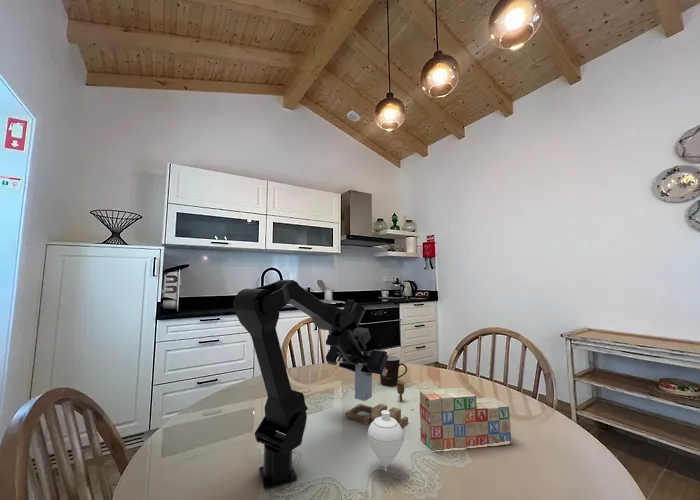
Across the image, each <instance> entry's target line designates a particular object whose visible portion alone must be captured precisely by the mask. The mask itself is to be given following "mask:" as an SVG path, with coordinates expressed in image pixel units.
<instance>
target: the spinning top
mask: <svg viewBox="0 0 700 500" xmlns="http://www.w3.org/2000/svg"><path fill="white" fill-rule="evenodd" d="M404 435H405V434H404V430H403V428H401V426H400V425H399V423H398V422H397V421H396V420H395V419H394V418H391V417H390V412H389V410H388V409H387V410H383V411H381V417H377V418H375V419H374V421H373V422H372V423H370V424H369V427H368V430H367V440H368V443H369V445H370V448H371V450H372V452H373V453H374V455H375V456H376V458H377V459H378V461H379V462H380V464H381V465H382V466H383V467H384V471H386V472H387V468H388V467H389V466H390V465H391V463H392V462H393V461H394V460H395V459H396V457H397V456H398V454H399V453H400V450H401V449H402V446H403V445H404V444H403V443H404V437H405V436H404Z"/></svg>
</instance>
